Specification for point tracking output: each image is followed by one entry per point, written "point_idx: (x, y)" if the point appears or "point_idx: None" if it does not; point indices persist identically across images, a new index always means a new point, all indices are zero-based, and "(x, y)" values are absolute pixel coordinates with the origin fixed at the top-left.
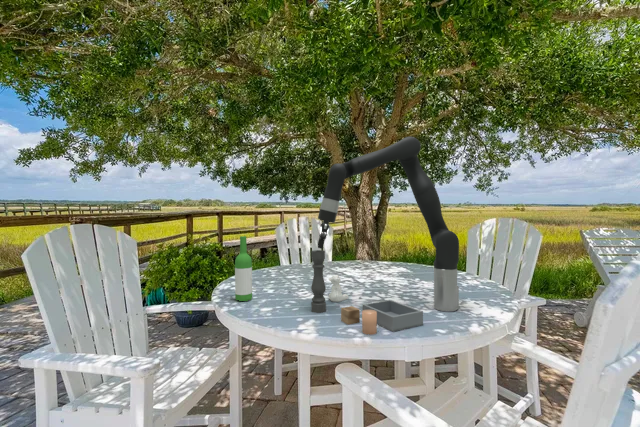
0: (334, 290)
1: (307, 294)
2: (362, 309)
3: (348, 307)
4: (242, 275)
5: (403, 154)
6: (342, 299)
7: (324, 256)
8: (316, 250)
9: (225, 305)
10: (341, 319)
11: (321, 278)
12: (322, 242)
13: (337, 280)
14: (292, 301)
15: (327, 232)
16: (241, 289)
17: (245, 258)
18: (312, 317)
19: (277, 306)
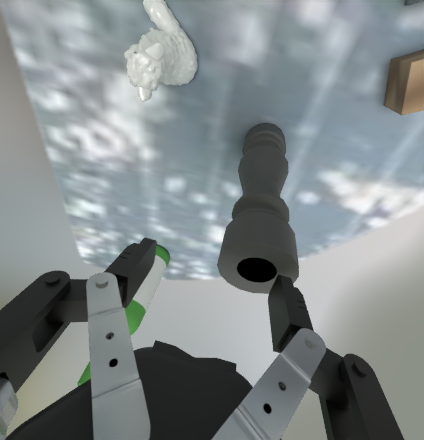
0: (175, 71)
1: (108, 135)
2: (420, 1)
3: (416, 84)
4: (151, 297)
5: None
6: (183, 31)
7: (283, 228)
8: (226, 268)
9: (185, 274)
10: (387, 105)
11: (280, 182)
12: (308, 322)
13: (162, 61)
14: (172, 183)
15: (299, 402)
16: (162, 275)
17: (130, 328)
18: (310, 171)
19: (205, 216)
